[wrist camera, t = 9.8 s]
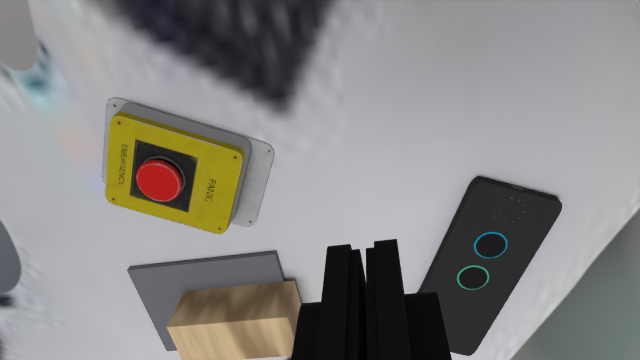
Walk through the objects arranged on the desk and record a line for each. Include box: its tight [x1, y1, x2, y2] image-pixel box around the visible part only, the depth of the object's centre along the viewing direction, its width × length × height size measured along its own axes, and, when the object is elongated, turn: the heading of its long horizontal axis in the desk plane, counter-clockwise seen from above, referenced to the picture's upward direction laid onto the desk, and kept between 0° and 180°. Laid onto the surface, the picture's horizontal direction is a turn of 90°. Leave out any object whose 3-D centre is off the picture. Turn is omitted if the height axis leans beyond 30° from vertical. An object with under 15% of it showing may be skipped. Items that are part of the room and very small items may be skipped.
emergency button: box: [102, 98, 274, 234], centre depth 40 cm, size 9×4×15 cm
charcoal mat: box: [127, 251, 285, 351], centre depth 49 cm, size 16×12×1 cm
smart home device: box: [418, 176, 562, 356], centre depth 44 cm, size 8×2×20 cm
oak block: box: [167, 281, 301, 360], centre depth 46 cm, size 5×5×12 cm
